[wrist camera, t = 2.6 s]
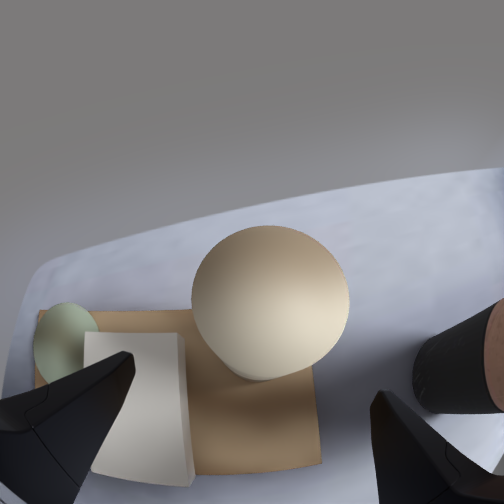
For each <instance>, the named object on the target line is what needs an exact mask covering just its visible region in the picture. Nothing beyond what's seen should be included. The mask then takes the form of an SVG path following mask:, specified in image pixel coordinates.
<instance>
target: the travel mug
mask: <svg viewBox="0 0 504 504" xmlns="http://www.w3.org/2000/svg"><path fill="white" fill-rule="evenodd" d="M413 388H414V392H415V395H416V398H417V399H418V401H419V403H420V404H421V405H422V406H423V407H424V408H425V409H427V410H428V411H431V412H434V413H442V414H494V413H504V298H503V299H502V300H500V301H498V302H496V303H495V304H493V305H491V306H490V307H488V308H486V309H485V310H483V311H481V312H479V313H478V314H476V315H474V316H472V317H471V318H469V319H467V320H465V321H463V322H461V323H459V324H457V325H455V326H454V327H452V328H450V329H448V330H446V331H444V332H442V333H440V334H438V335H436V336H434V337H432V338H431V339H430V340H428V341H427V342H426V343H425V344H424V345H423V347H422V348H421V350H420V351H419V353H418V355H417V357H416V360H415V364H414V368H413Z"/></svg>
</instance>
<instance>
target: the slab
mask: <svg viewBox="0 0 504 504" xmlns="http://www.w3.org/2000/svg"><path fill="white" fill-rule="evenodd" d="M120 351H127V352H130V353H132V354H133V355H134V361H135V367H136V373H135V377H134V379H133V381H132V384H131V386H130V389H129V391H128V394H127V396H126V399H125V402H124V404H123V406H122V408H121V410H120V412H119V414H118V416H117V418H116V420H115V421H114V423H113V425H112V427H111V429H110V431H109V433H108V435H107V436H106V438H105V440H104V442H103V444H102V446H101V448H100V450H99V452H98V454H97V456H96V458H95V460H94V462H93V464H92V465H91V470H92V472H94V473H97V474H102V475H106V476H110V477H115V478H120V479H125V480H130V481H136V482H143V483H150V484H158V485H167V486H179V487H190V485H191V484H192V482H193V480H194V479H195V469H194V461H193V453H192V444H191V434H190V423H189V411H188V397H187V381H186V361H185V339H184V338H183V337H182V336H181V335H179V334H178V333H111V332H86V331H85V341H84V368H85V367H87V366H90V365H92V364H94V363H96V362H98V361H101V360H103V359H105V358H107V357H109V356H112V355H114V354H116V353H118V352H120Z"/></svg>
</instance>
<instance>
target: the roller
mask: <svg viewBox="0 0 504 504" xmlns="http://www.w3.org/2000/svg"><path fill="white" fill-rule="evenodd" d="M191 301H192V311H193V315H194V320H195V322H196V325H197V327H198V330H199V332H200V334H201V335H202V337H203V339H204V340H205V342H206V343H207V344H208V345H209V347H210V348H211V349H212V350H213V351H214V353H215V354H216V355H217V356H218V357H219V358H220V359H221V360H222V362H223V363H224V364H225V365H226V366H227V367H228V368H229V369H230V370H231V371H232V372H233V373H234V374H235V375H236V376H238V377H240V378H241V379H244V380H246V381H250V382H265V381H269V380H272V379H275V378H279V377H282V376H285V375H288V374H291V373H294V372H297V371H299V370H302V369H305V368H307V367H309V366H311V365H313V364H314V363H316V362H317V361H319V360H320V359H321V358H323V357H324V356H325V355H326V354H327V353H328V352H329V351H330V350H331V349H332V348H333V346H334V345H335V344H336V343H337V341H338V339H339V338H340V336H341V334H342V332H343V330H344V327H345V325H346V321H347V318H348V312H349V292H348V286H347V282H346V279H345V276H344V274H343V272H342V269H341V267H340V266H339V264H338V262H337V261H336V259H335V258H334V257H333V256H332V254H331V253H330V252H329V251H328V250H327V249H326V248H325V247H324V246H323V245H321V244H320V243H319V242H318V241H316V240H315V239H313V238H312V237H310V236H308V235H306V234H304V233H302V232H299V231H297V230H294V229H290V228H286V227H280V226H257V227H252V228H247V229H244V230H241V231H238V232H236V233H234V234H232V235H230V236H228V237H226V238H225V239H223V240H222V241H220V242H219V243H218V244H217V245H216V246H215V247H213V248H212V250H211V251H210V252H209V253H208V254H207V255H206V257H205V258H204V259H203V261H202V262H201V264H200V266H199V268H198V270H197V273H196V276H195V278H194V282H193V287H192V298H191Z"/></svg>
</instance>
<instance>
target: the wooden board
mask: <svg viewBox="0 0 504 504" xmlns="http://www.w3.org/2000/svg"><path fill="white" fill-rule="evenodd" d="M85 331H86V332H111V333H178V334H179V335H181V336H182V337H183V338H184V339H185V361H186V381H187V397H188V411H189V423H190V434H191V444H192V453H193V461H194V469H195V475H234V474H252V473H263V472H273V471H281V470H288V469H295V468H301V467H307V466H312V465H317V464H322V459H321V447H320V436H319V425H318V415H317V406H316V397H315V388H314V379H313V371H312V365H311V366H309V367H307V368H305V369H302V370H299V371H297V372H294V373H291V374H288V375H285V376H282V377H279V378H275V379H272V380H269V381H265V382H250V381H246V380H244V379H241V378H240V377H238V376H236V375H235V374H234V373H233V372H232V371H231V370H230V369H229V368H228V367H227V366H226V365H225V364H224V363H223V362H222V360H221V359H220V358H219V357H218V356H217V355H216V354H215V353H214V351H213V350H212V349H211V348H210V347H209V345H208V344H207V343H206V342H205V340H204V339H203V337H202V335H201V334H200V332H199V330H198V327H197V325H196V322H195V320H194V315H193V311H192V309H189V310H161V311H86V310H85V309H84V308H82V307H81V306H79V305H77V304H73V303H61V304H58V305H55V306H53V307H52V308H50V309H49V310H40V311H39V319H38V325H37V328H36V331H35V335H34V341H33V351H34V358H35V389H36V388H39V387H41V386H44V385H46V384H50V383H51V382H53V381H56V380H58V379H60V378H63V377H65V376H67V375H69V374H72V373H74V372H76V371H78V370H81V369H83V368H84V341H85Z"/></svg>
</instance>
